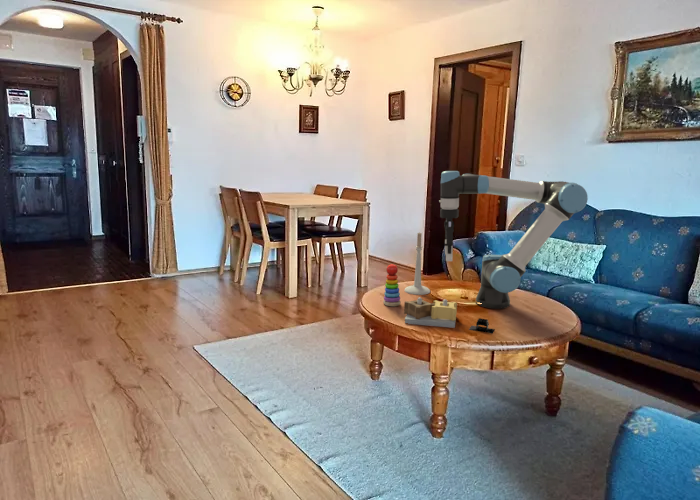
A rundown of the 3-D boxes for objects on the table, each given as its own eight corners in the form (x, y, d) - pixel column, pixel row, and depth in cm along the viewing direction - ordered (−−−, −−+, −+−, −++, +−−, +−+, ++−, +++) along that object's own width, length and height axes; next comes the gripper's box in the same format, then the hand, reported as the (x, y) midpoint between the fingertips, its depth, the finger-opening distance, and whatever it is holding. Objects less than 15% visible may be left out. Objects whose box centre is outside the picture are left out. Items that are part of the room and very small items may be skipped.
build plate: (464, 331, 198) (465, 320, 197) (468, 325, 204) (469, 314, 203) (496, 336, 193) (497, 325, 192) (499, 330, 199) (500, 319, 198)
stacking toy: (400, 302, 233) (401, 262, 229) (400, 307, 225) (401, 266, 221) (383, 301, 233) (384, 262, 230) (383, 306, 226) (383, 266, 222)
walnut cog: (420, 309, 216) (421, 298, 215) (435, 315, 208) (436, 304, 207) (402, 313, 211) (402, 301, 210) (417, 319, 203) (417, 308, 202)
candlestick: (410, 286, 259) (412, 229, 253) (433, 290, 253) (436, 231, 247) (400, 292, 249) (402, 232, 243) (424, 296, 242) (427, 235, 236)
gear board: (455, 316, 213) (457, 295, 211) (454, 327, 200) (455, 305, 198) (408, 312, 217) (409, 291, 216) (404, 323, 204) (405, 301, 202)
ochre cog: (456, 313, 211) (457, 301, 210) (455, 320, 201) (456, 309, 200) (432, 311, 213) (433, 300, 212) (431, 318, 203) (431, 307, 202)
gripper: (439, 204, 223) (439, 251, 227) (440, 211, 199) (440, 263, 203) (457, 204, 222) (456, 251, 226) (460, 211, 197) (459, 264, 202)
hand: (448, 257), depth 214 cm, fingers open, 13 cm apart
